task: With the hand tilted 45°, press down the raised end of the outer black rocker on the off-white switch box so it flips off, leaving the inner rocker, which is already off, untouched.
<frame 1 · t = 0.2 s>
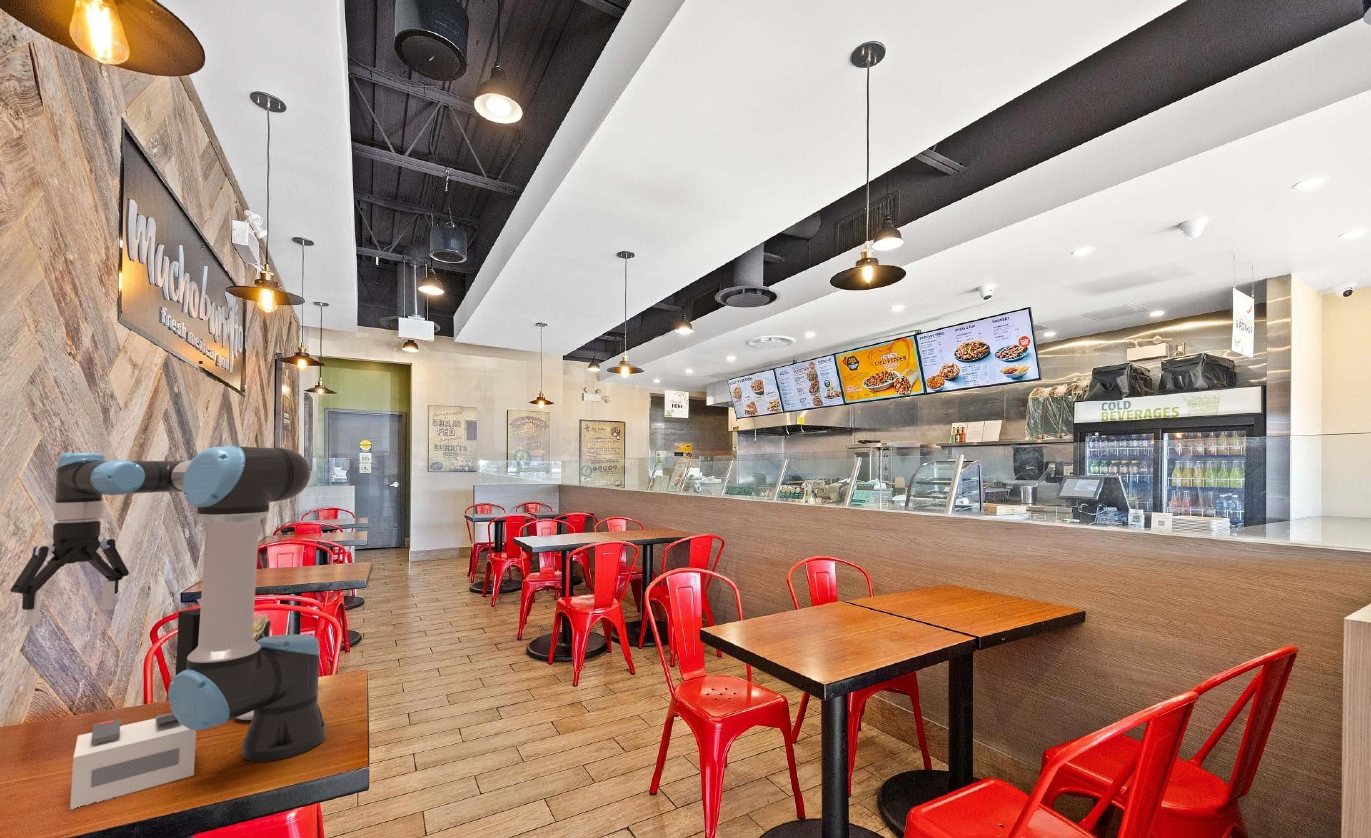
hand: (71, 616, 133), 28 cm above the table, tool pointing down, fingers open, 13 cm apart
switch box: (135, 779, 116), on the table
flower in vase: (261, 717, 145), on the table
tissue box: (199, 712, 148), on the table
sauce bottle: (256, 699, 156), on the table
rocker outer: (106, 730, 113), point 11 cm above the table, hinge at 12.0°
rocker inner: (168, 716, 119), point 11 cm above the table, hinge at -12.0°
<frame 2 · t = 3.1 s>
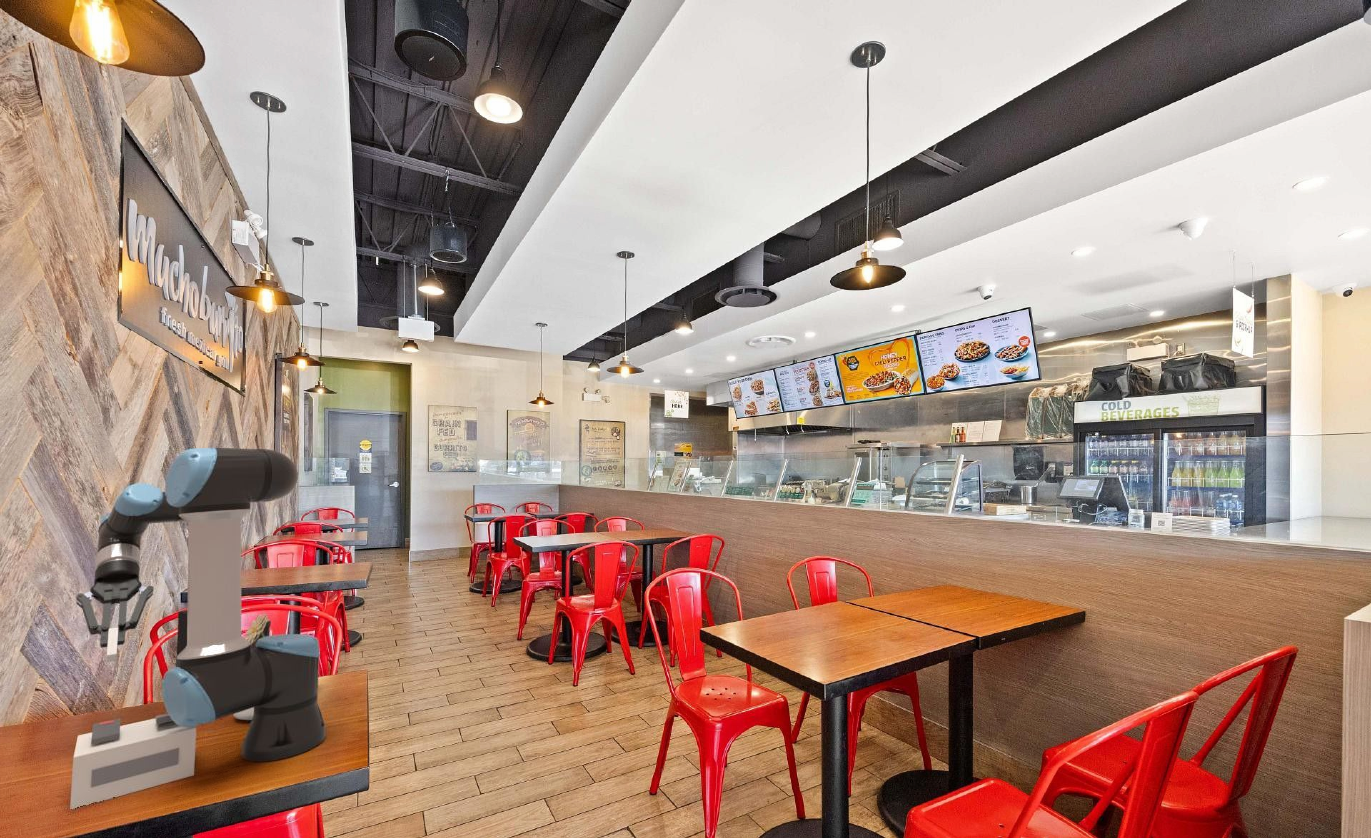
hand: (111, 658, 125), 21 cm above the table, tool tilted 45°, fingers closed
nothing on the table moved.
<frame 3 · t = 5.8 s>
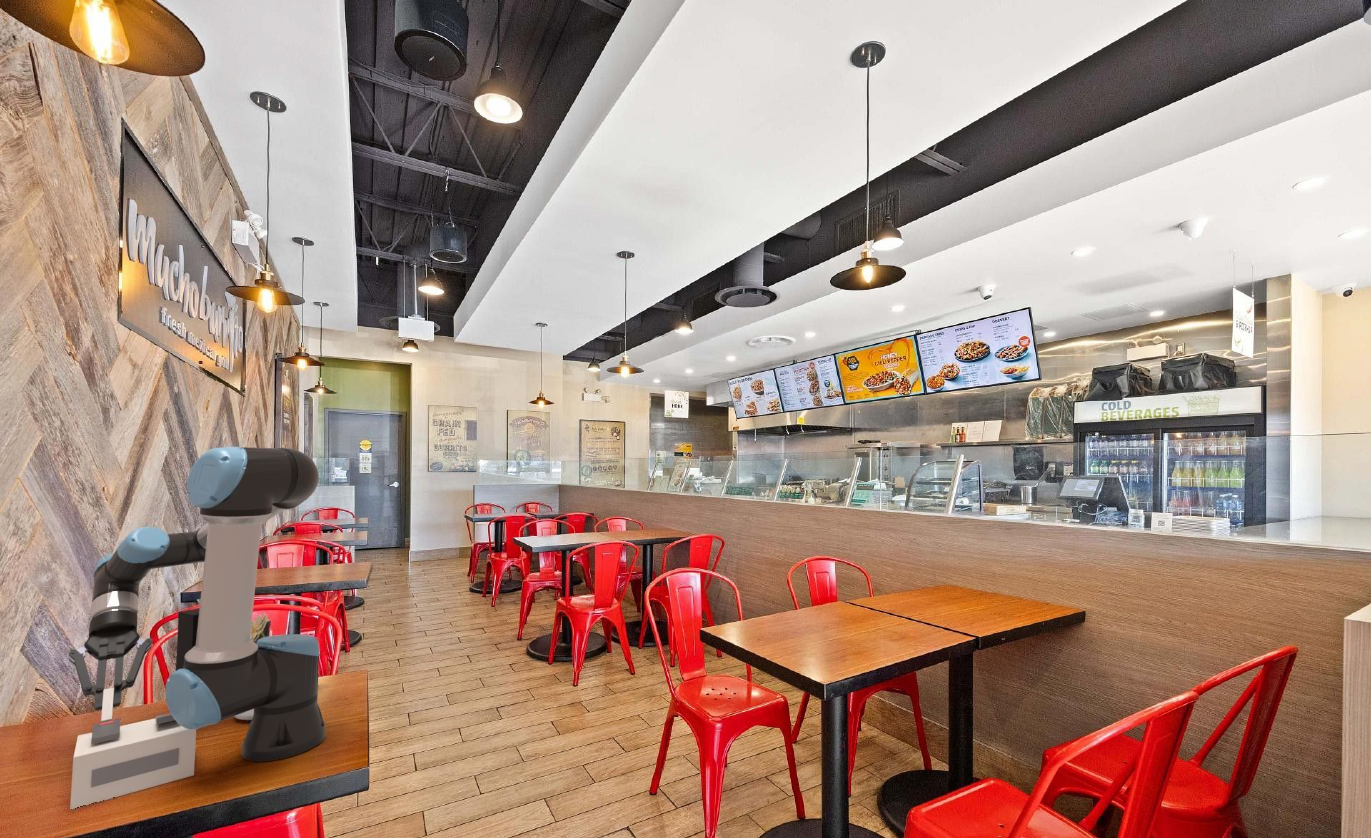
hand: (106, 723, 116), 11 cm above the table, tool tilted 45°, fingers closed
rocker outer: (106, 730, 113), point 11 cm above the table, hinge at 10.5°, touching gripper
everything else where it was.
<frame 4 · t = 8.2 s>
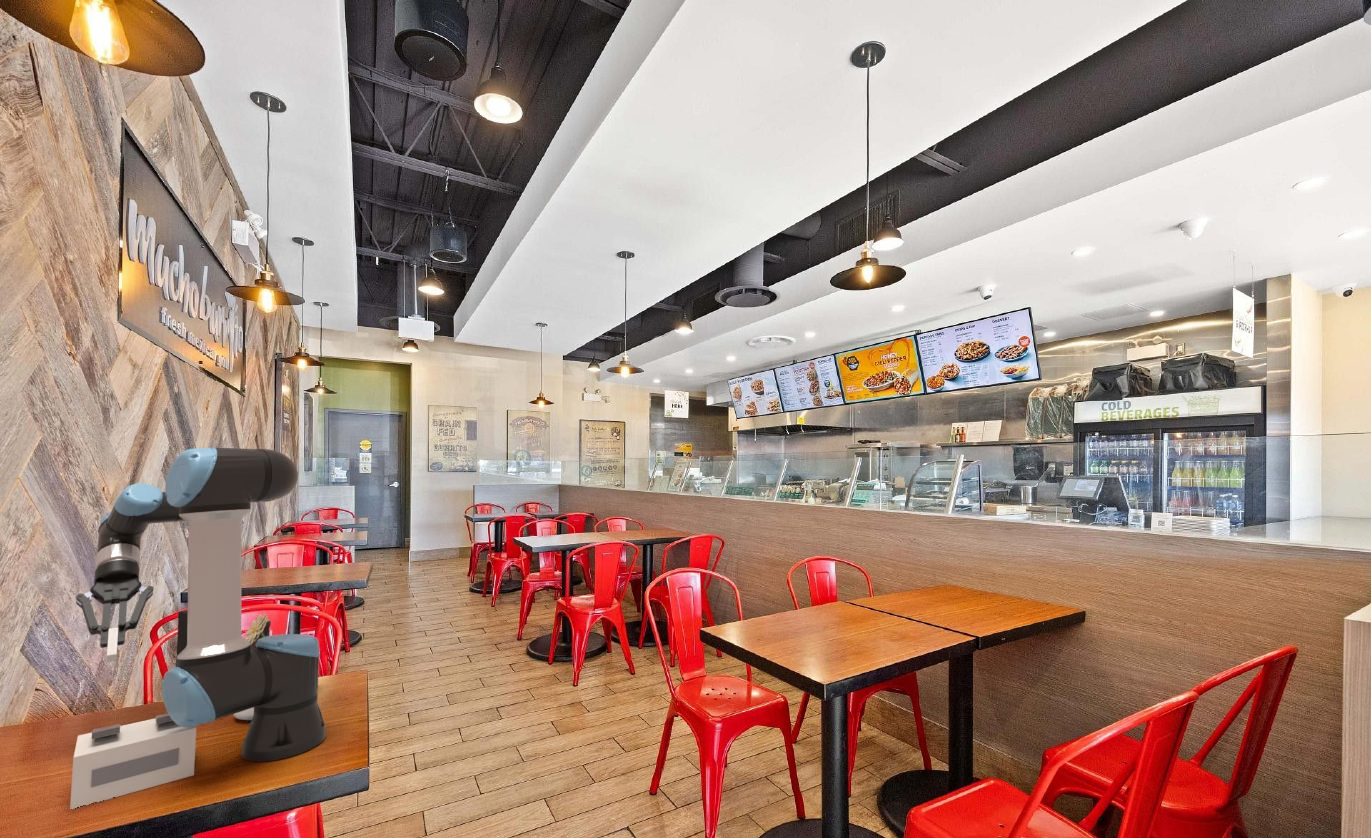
hand: (111, 658, 125), 21 cm above the table, tool tilted 45°, fingers closed
rocker outer: (106, 730, 113), point 11 cm above the table, hinge at -10.8°
everything else where it was.
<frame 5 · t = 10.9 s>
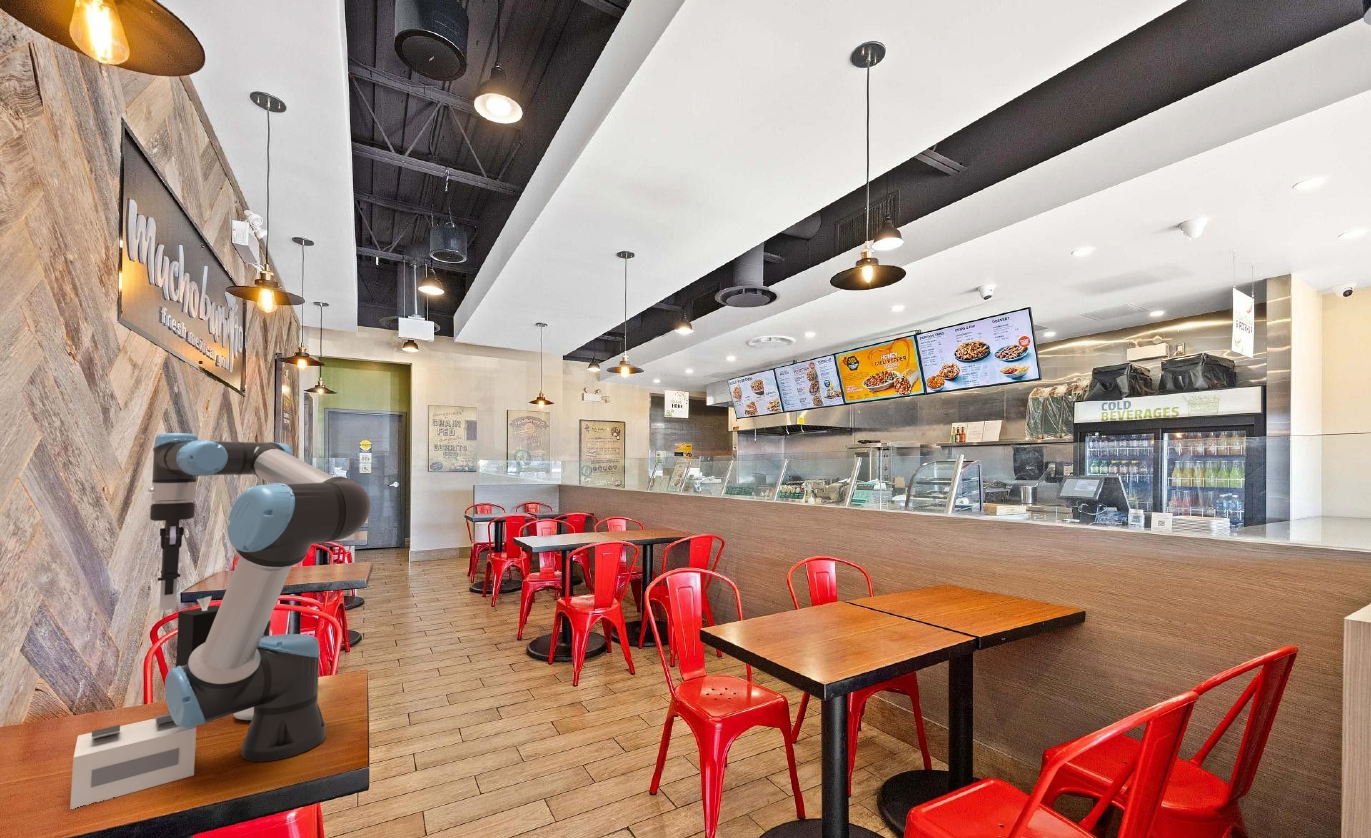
hand: (167, 608, 131), 29 cm above the table, tool pointing down, fingers closed
rocker outer: (106, 730, 113), point 11 cm above the table, hinge at -18.1°
everything else where it was.
at the end: rocker outer at -18° (first picture: +12°); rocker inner at -12° (first picture: -12°) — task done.
